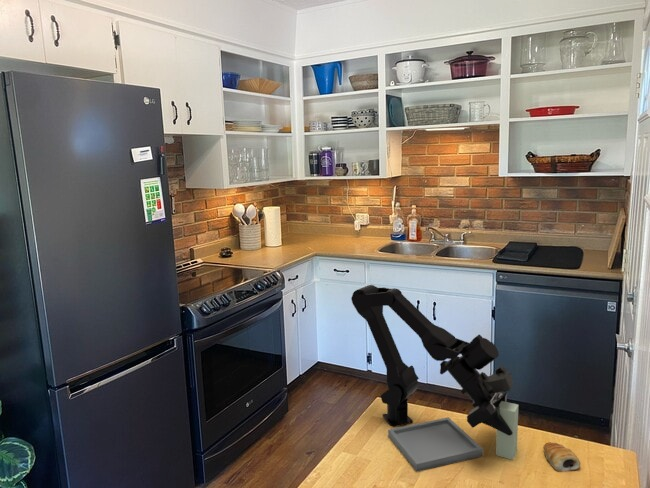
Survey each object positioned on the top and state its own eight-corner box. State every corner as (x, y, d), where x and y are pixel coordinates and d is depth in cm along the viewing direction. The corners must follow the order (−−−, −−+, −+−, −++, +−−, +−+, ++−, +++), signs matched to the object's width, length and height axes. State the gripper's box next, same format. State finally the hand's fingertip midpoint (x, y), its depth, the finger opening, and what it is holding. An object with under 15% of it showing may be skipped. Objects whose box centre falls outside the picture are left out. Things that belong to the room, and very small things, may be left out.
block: (496, 455, 123) (497, 407, 121) (500, 447, 126) (501, 400, 124) (513, 460, 121) (514, 412, 118) (516, 451, 124) (518, 404, 122)
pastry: (535, 450, 125) (536, 436, 124) (561, 448, 125) (562, 434, 125) (556, 473, 115) (557, 458, 115) (584, 471, 116) (585, 456, 115)
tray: (388, 436, 132) (388, 429, 132) (448, 423, 138) (448, 417, 137) (416, 471, 117) (416, 464, 117) (483, 456, 123) (483, 448, 122)
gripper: (481, 375, 114) (531, 433, 110) (501, 348, 129) (546, 397, 125) (447, 399, 119) (493, 455, 115) (470, 370, 135) (512, 419, 131)
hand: (513, 430), depth 121 cm, fingers closed on block, 4 cm apart
